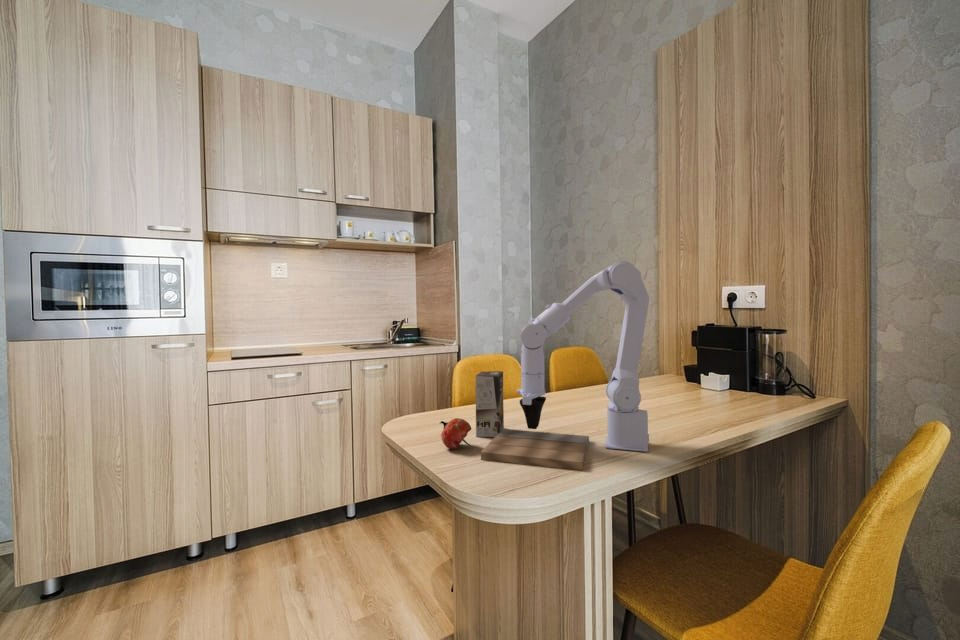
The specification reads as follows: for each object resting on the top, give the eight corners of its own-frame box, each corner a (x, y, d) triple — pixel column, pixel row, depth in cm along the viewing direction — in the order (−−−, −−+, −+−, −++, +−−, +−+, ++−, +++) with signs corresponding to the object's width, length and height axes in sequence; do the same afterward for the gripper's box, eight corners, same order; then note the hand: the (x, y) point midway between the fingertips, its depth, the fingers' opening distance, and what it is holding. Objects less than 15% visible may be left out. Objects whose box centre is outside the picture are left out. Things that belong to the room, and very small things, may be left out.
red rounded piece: (471, 451, 106) (441, 425, 108) (486, 431, 104) (456, 405, 106) (459, 465, 99) (427, 437, 102) (475, 444, 97) (442, 415, 99)
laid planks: (586, 451, 99) (586, 444, 99) (581, 470, 87) (581, 462, 87) (496, 442, 106) (496, 436, 106) (480, 459, 94) (480, 451, 94)
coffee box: (499, 438, 110) (498, 376, 109) (475, 437, 111) (474, 375, 110) (504, 428, 119) (503, 370, 118) (482, 427, 120) (481, 370, 119)
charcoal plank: (589, 442, 106) (589, 436, 106) (586, 450, 99) (586, 443, 99) (504, 434, 113) (504, 429, 113) (496, 441, 106) (496, 435, 106)
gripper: (523, 368, 113) (523, 418, 113) (509, 376, 99) (510, 434, 99) (550, 369, 110) (550, 420, 111) (539, 378, 97) (539, 437, 97)
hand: (533, 427), depth 105 cm, fingers closed
